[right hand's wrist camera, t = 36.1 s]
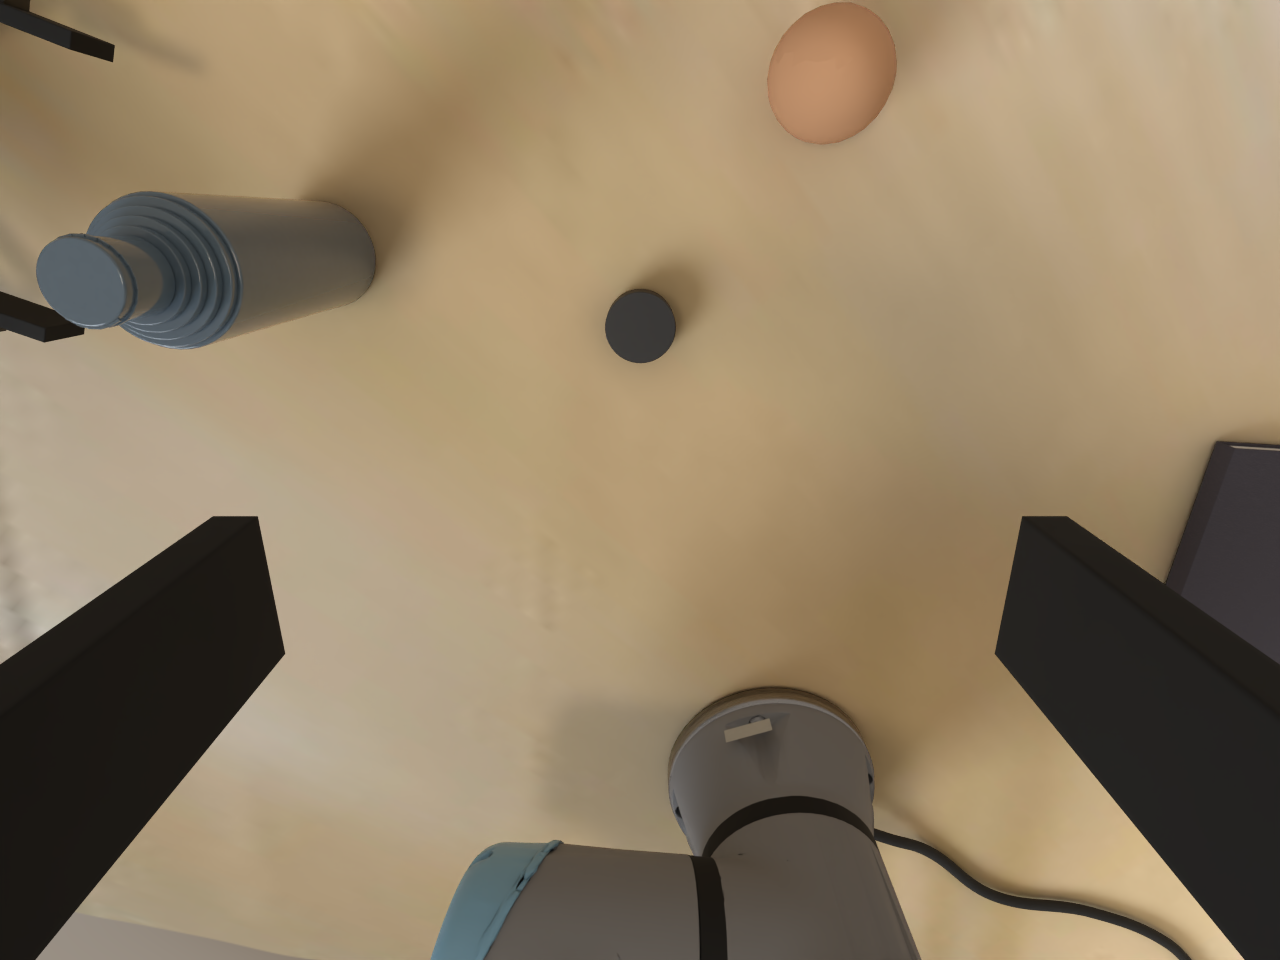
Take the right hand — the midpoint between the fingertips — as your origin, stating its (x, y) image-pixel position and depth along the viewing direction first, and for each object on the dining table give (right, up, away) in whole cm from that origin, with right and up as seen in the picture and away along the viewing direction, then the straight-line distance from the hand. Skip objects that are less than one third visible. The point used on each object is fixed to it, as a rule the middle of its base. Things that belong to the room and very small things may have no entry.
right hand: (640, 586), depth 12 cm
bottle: (-18, +15, +29) cm, 38 cm away
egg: (+9, +23, +26) cm, 36 cm away
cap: (0, +11, +29) cm, 31 cm away
